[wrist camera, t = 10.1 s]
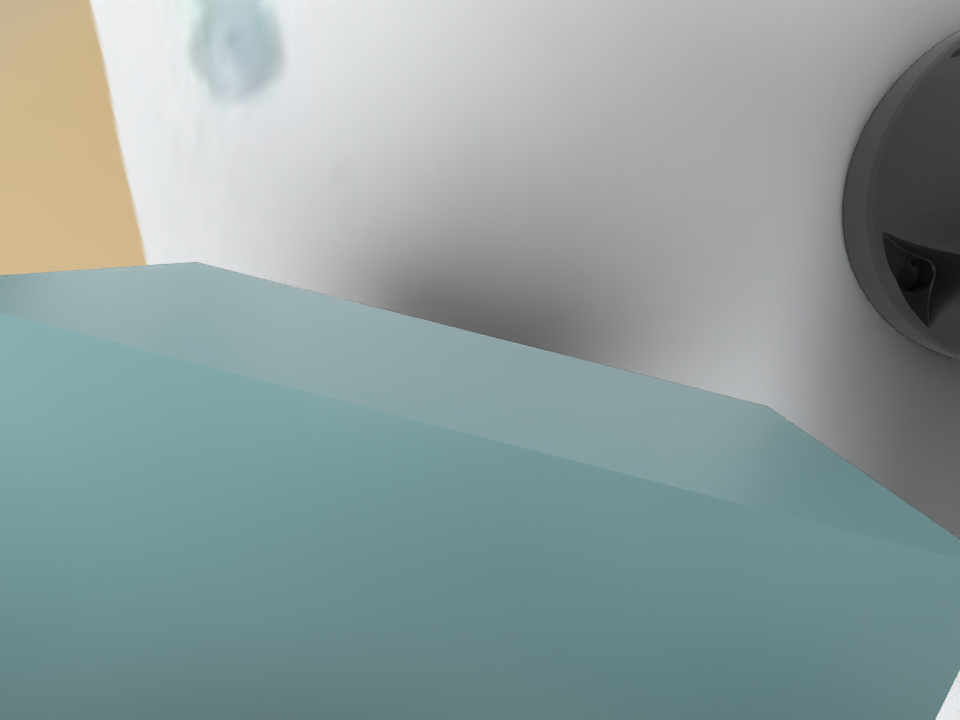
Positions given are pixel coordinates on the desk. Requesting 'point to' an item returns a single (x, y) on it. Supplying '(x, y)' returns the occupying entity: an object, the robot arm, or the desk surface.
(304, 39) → the desk surface
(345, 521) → the cover cap
